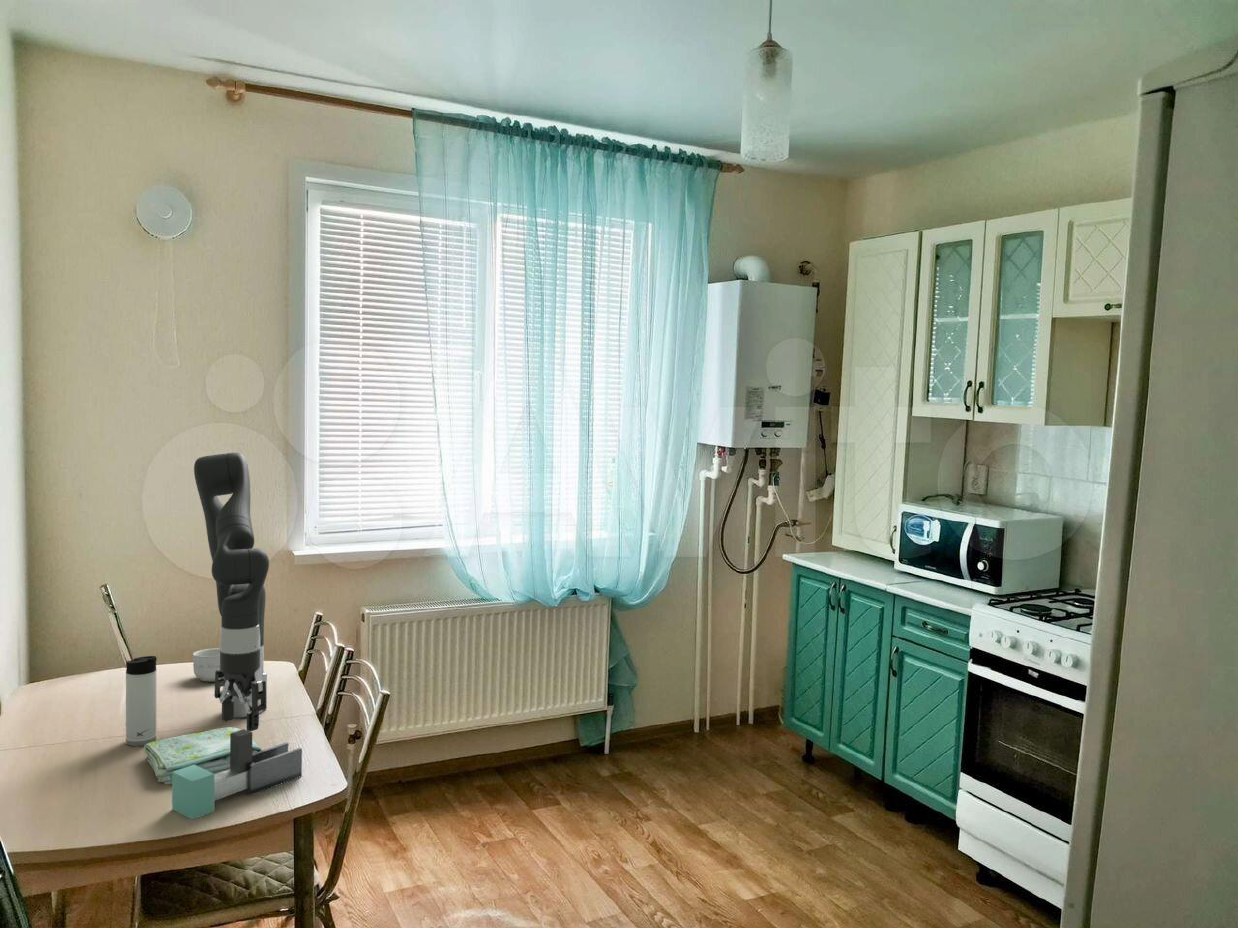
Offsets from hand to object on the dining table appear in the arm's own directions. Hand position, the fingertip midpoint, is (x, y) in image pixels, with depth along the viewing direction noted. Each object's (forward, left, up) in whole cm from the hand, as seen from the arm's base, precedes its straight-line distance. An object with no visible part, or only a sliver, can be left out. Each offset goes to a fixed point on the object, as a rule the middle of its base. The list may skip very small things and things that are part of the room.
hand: (239, 724), depth 182 cm
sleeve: (-7, 0, -14) cm, 16 cm away
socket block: (+10, 0, -14) cm, 17 cm away
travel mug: (-2, -41, -14) cm, 44 cm away
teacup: (-39, -70, -15) cm, 82 cm away
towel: (-4, -20, -15) cm, 26 cm away
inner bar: (+3, 0, -13) cm, 13 cm away
